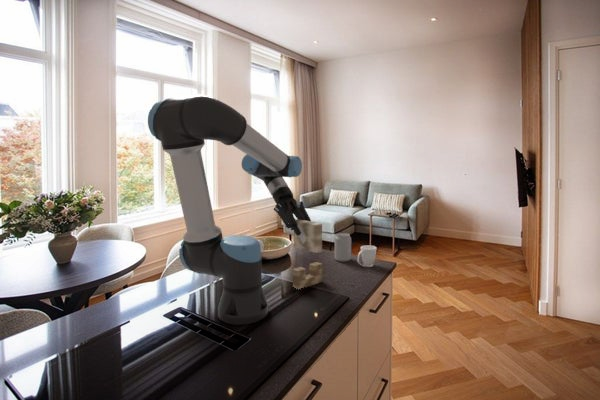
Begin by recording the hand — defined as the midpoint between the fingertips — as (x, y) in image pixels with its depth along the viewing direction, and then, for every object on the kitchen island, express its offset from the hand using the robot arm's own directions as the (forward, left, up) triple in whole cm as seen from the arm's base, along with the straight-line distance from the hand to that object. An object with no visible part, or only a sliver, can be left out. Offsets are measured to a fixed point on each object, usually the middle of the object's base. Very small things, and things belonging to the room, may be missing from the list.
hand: (309, 240), depth 122 cm
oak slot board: (0, +1, -17) cm, 17 cm away
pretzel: (-8, +42, -17) cm, 46 cm away
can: (+28, +20, -17) cm, 38 cm away
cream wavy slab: (0, +1, -3) cm, 3 cm away
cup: (+32, +8, -17) cm, 37 cm away
